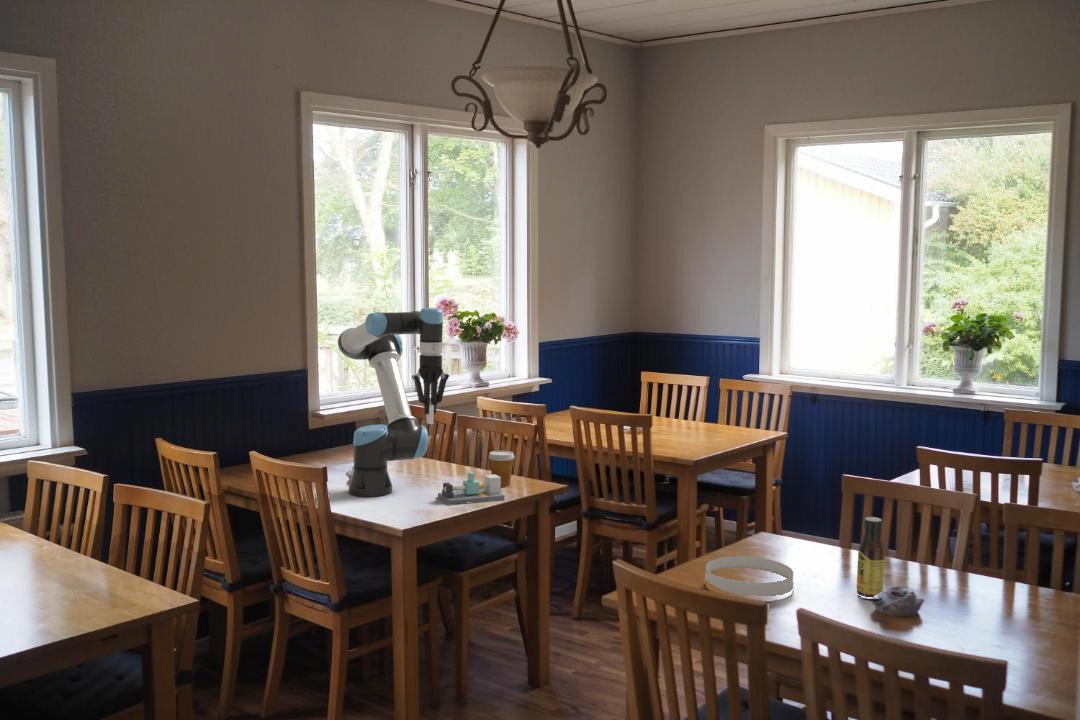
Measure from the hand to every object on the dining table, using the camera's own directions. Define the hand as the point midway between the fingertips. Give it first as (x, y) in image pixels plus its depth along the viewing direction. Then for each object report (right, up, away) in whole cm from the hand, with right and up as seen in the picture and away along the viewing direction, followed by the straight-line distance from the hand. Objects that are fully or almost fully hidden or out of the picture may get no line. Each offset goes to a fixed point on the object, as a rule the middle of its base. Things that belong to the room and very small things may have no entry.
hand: (429, 423), depth 334 cm
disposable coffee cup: (+23, -25, +27) cm, 43 cm away
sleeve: (+13, -24, +6) cm, 29 cm away
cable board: (+13, -26, +7) cm, 30 cm away
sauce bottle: (+119, -37, -91) cm, 154 cm away
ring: (+90, -37, -84) cm, 129 cm away
